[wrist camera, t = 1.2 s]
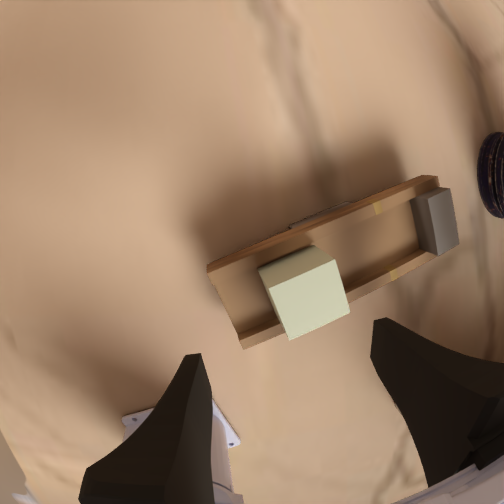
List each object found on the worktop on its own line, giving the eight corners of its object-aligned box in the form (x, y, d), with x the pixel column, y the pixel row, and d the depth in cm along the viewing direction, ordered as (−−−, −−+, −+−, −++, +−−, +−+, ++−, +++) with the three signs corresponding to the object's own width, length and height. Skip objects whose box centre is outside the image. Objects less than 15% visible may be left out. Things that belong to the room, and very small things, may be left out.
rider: (276, 314, 21) (289, 340, 18) (257, 268, 20) (268, 288, 17) (328, 291, 22) (350, 312, 18) (313, 244, 21) (335, 259, 17)
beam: (237, 324, 25) (246, 360, 20) (206, 256, 23) (207, 280, 18) (422, 238, 26) (462, 252, 20) (407, 173, 24) (449, 176, 19)
